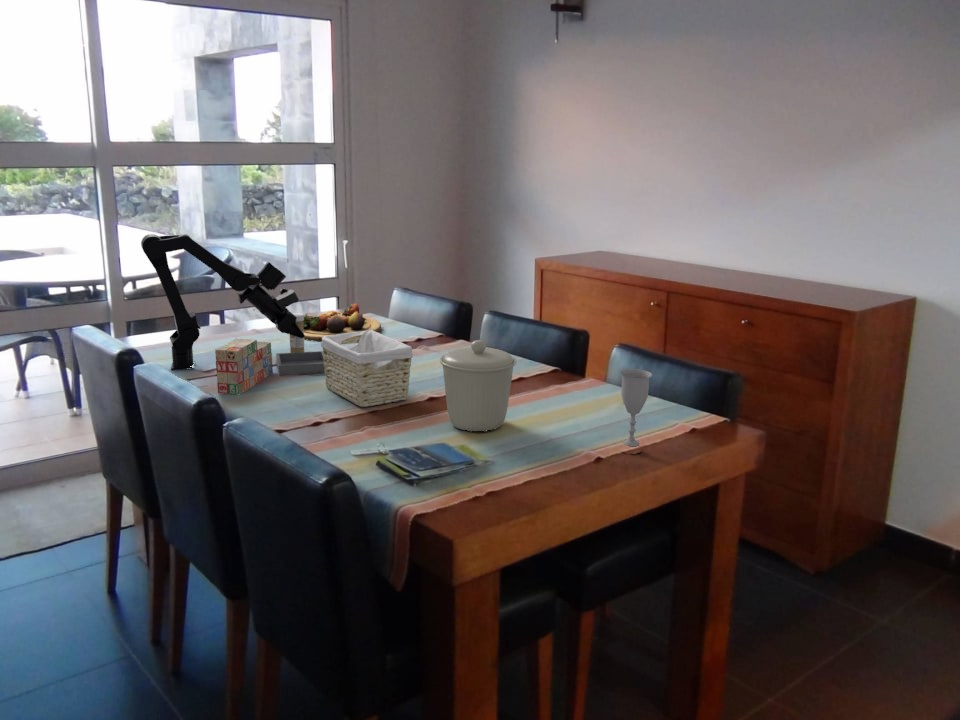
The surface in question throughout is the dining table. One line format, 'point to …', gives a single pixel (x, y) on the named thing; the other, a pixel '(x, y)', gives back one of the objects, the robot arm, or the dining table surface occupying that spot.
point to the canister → (477, 386)
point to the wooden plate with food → (338, 323)
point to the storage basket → (367, 367)
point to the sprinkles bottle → (297, 342)
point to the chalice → (634, 397)
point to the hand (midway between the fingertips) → (301, 334)
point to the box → (300, 363)
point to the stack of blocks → (242, 365)
